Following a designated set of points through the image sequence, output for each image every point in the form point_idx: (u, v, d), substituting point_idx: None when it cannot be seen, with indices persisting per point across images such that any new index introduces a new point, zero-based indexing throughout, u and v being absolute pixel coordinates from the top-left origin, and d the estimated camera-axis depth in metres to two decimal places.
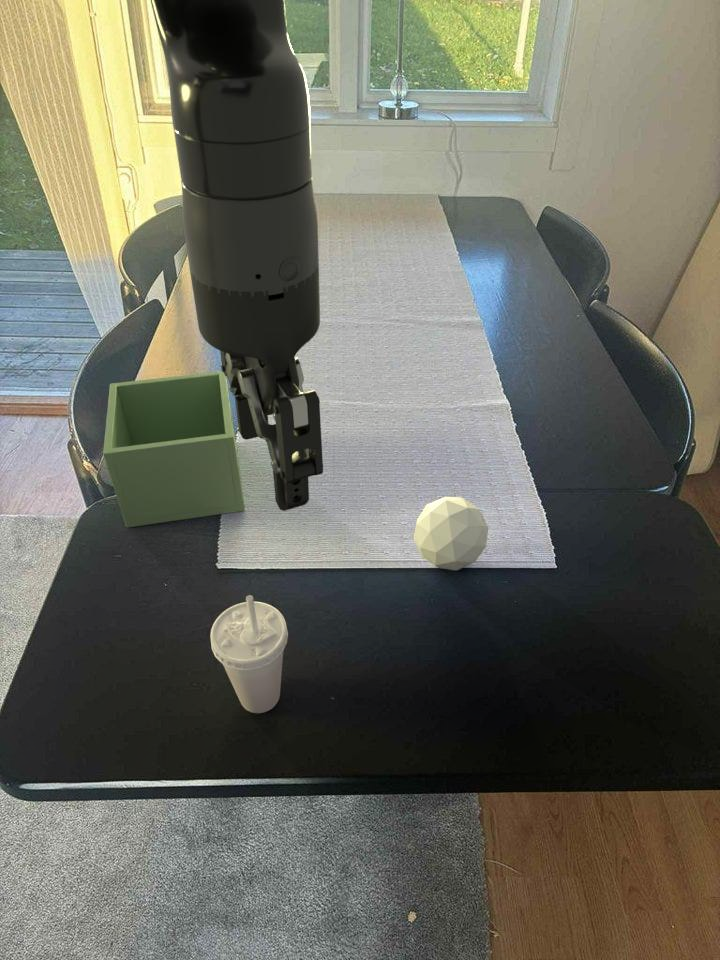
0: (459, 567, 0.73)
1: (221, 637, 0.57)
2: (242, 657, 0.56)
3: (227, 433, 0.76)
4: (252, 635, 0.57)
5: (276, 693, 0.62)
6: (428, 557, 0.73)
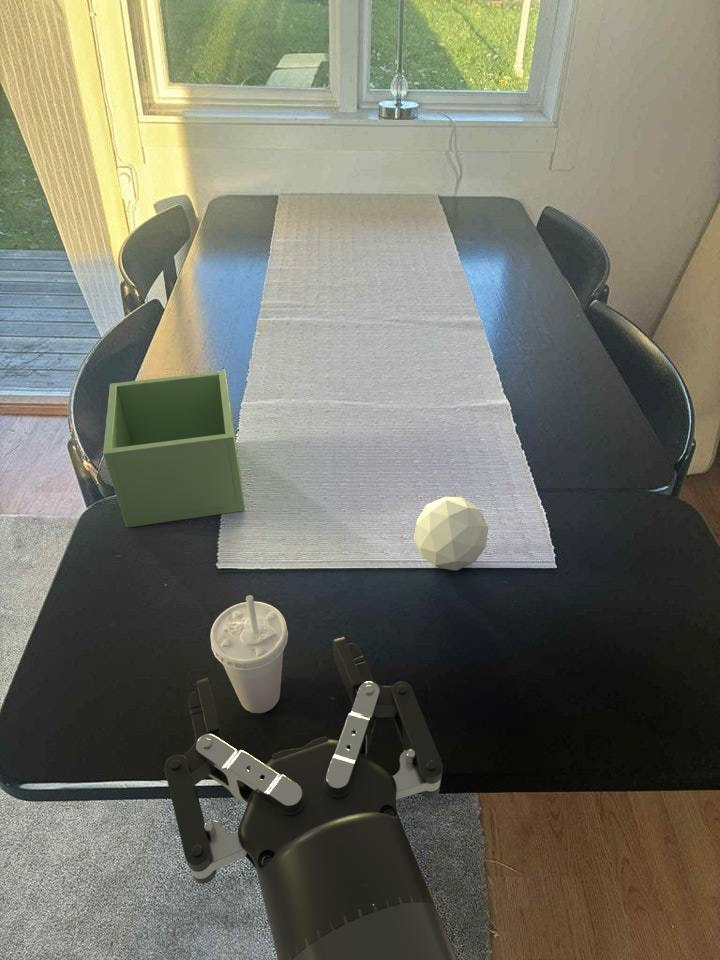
0: (459, 567, 0.73)
1: (221, 637, 0.57)
2: (242, 657, 0.56)
3: (227, 433, 0.76)
4: (252, 635, 0.57)
5: (276, 693, 0.62)
6: (428, 557, 0.73)
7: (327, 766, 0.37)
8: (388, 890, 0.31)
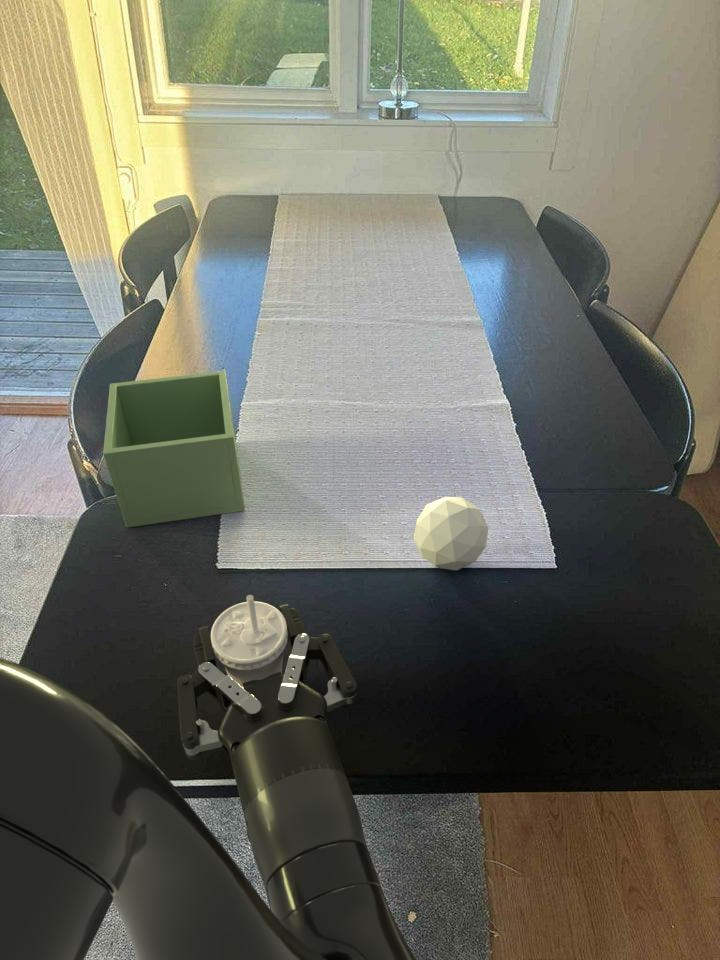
0: (459, 567, 0.73)
1: (222, 636, 0.57)
2: (242, 657, 0.56)
3: (227, 433, 0.76)
4: (252, 635, 0.57)
5: None
6: (428, 557, 0.73)
7: None
8: (312, 760, 0.48)
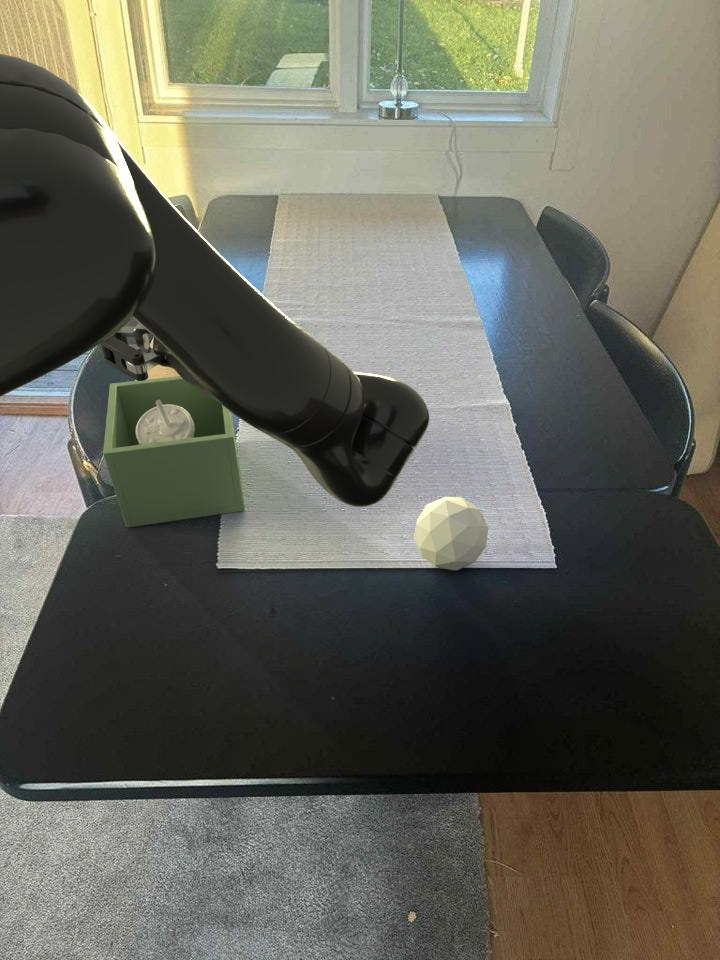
0: (459, 567, 0.73)
1: (147, 438, 0.77)
2: None
3: (227, 433, 0.76)
4: (168, 428, 0.77)
5: None
6: (428, 557, 0.73)
7: None
8: None
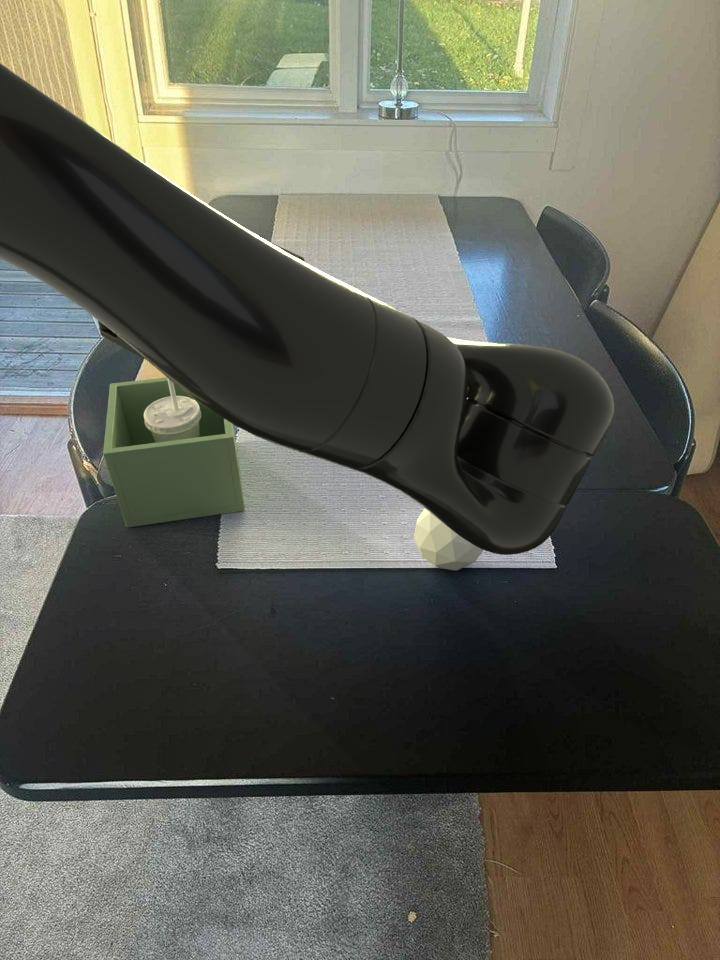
0: (459, 567, 0.73)
1: (154, 419, 0.79)
2: (175, 424, 0.78)
3: (227, 433, 0.76)
4: (176, 411, 0.79)
5: None
6: (428, 557, 0.73)
7: None
8: None
